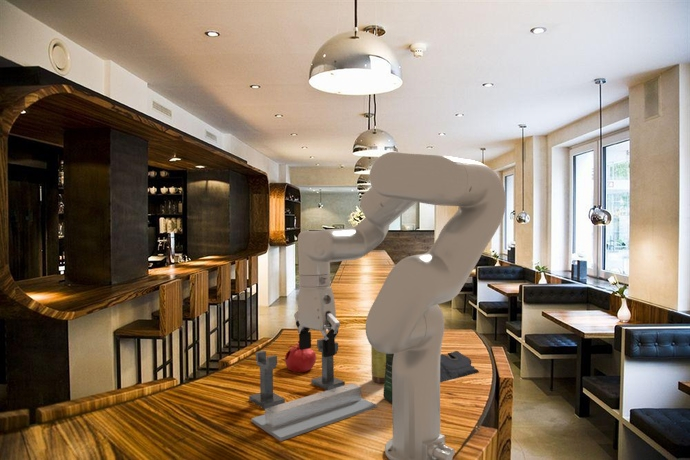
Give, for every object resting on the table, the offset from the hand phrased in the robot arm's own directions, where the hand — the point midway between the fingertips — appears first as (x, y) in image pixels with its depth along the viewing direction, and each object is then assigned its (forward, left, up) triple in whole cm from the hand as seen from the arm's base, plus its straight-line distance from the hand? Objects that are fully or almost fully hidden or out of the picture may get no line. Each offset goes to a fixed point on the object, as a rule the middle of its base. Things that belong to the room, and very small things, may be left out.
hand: (316, 352), depth 114 cm
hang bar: (+1, 0, -15) cm, 15 cm away
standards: (+16, -5, -15) cm, 22 cm away
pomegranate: (+33, -17, -16) cm, 40 cm away
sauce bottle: (+8, -29, -16) cm, 34 cm away
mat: (+1, 0, -15) cm, 15 cm away
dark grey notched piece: (+2, -49, -16) cm, 51 cm away
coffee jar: (-6, -23, -16) cm, 28 cm away
